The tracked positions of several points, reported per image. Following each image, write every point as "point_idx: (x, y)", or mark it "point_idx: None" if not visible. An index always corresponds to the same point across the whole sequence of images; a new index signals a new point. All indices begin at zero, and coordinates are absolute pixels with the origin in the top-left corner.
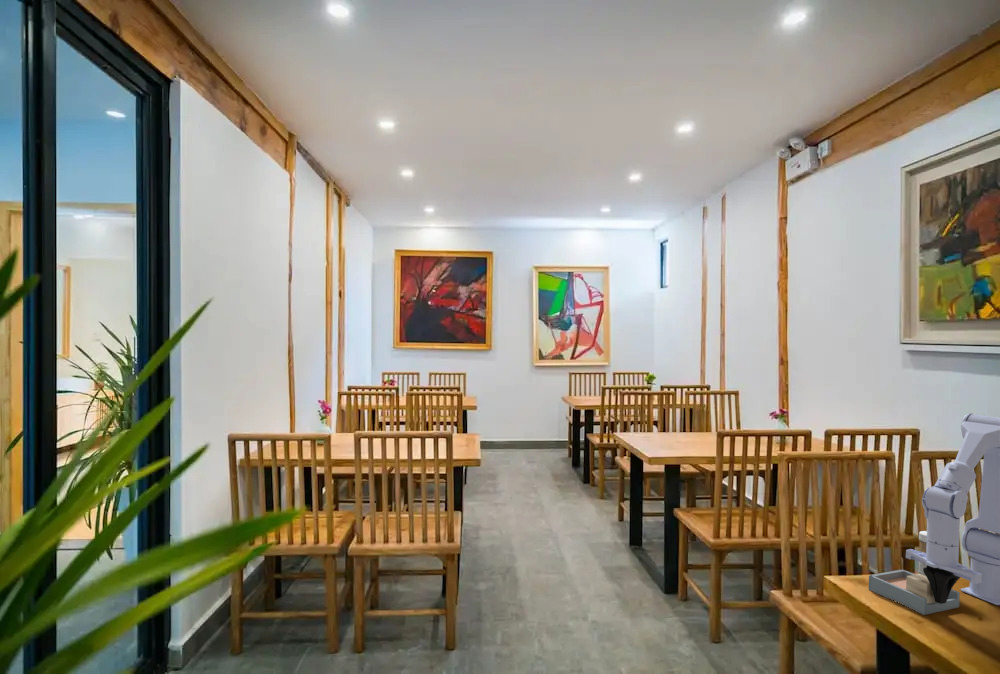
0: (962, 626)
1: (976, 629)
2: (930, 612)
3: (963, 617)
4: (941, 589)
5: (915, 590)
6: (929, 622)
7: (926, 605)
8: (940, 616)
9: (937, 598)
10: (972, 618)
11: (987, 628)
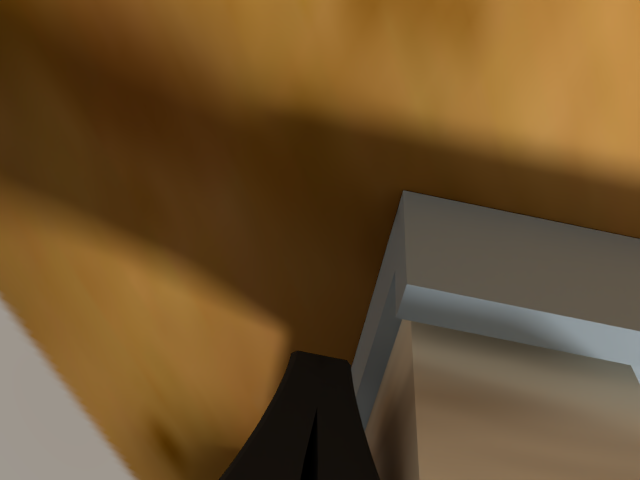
0: (140, 244)
1: (73, 279)
2: (381, 271)
3: (223, 391)
4: (238, 471)
5: (543, 391)
6: (307, 67)
7: (396, 267)
8: (313, 280)
9: (314, 381)
10: (189, 418)
11: (61, 353)
